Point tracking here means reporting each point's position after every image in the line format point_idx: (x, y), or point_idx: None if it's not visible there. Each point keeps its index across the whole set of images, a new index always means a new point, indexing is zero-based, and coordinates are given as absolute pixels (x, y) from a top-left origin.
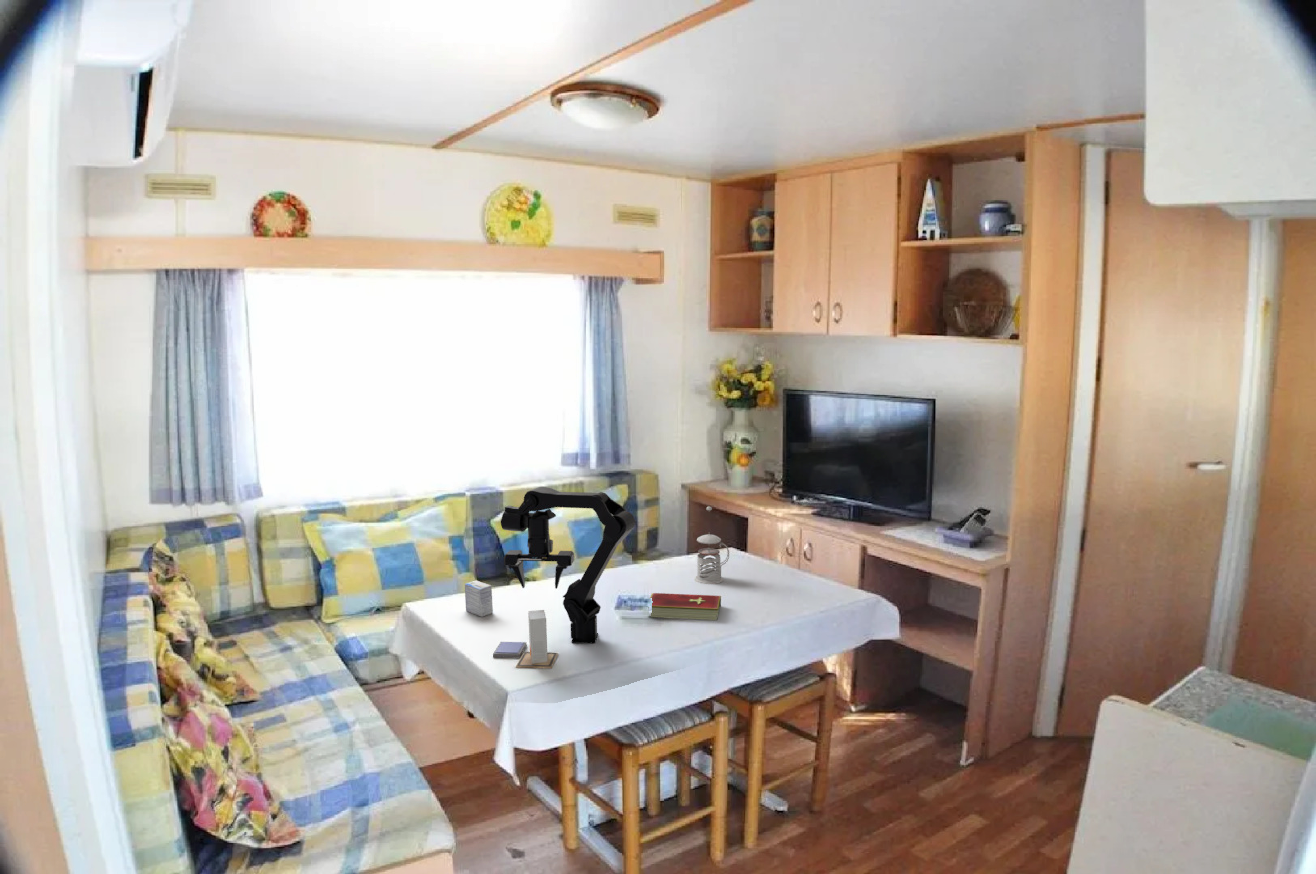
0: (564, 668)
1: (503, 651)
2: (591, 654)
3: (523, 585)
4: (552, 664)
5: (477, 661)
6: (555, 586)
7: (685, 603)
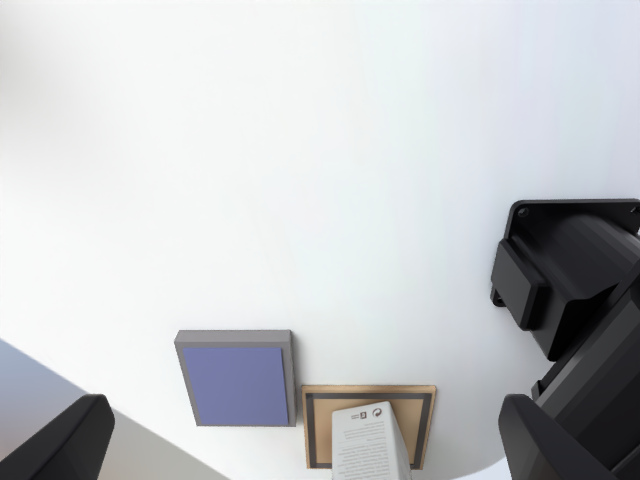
0: (464, 461)
1: (229, 419)
2: None
3: (100, 464)
4: (424, 455)
5: (163, 436)
6: (511, 460)
7: None
